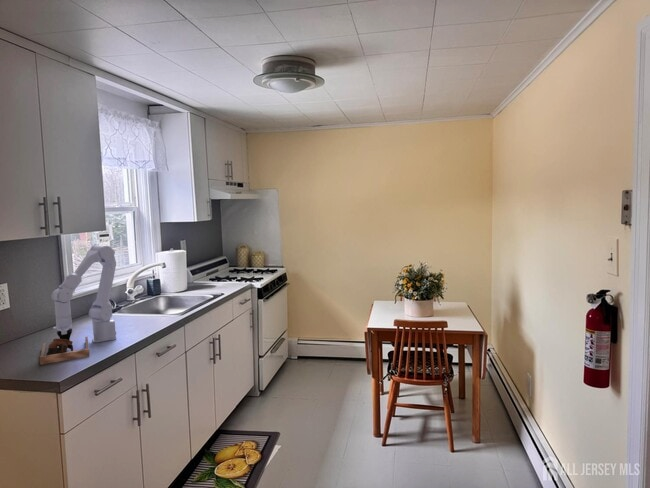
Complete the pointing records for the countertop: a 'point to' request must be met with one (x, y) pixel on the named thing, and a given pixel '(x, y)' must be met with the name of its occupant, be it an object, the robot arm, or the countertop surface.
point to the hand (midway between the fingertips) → (65, 346)
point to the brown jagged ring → (62, 345)
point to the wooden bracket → (63, 354)
